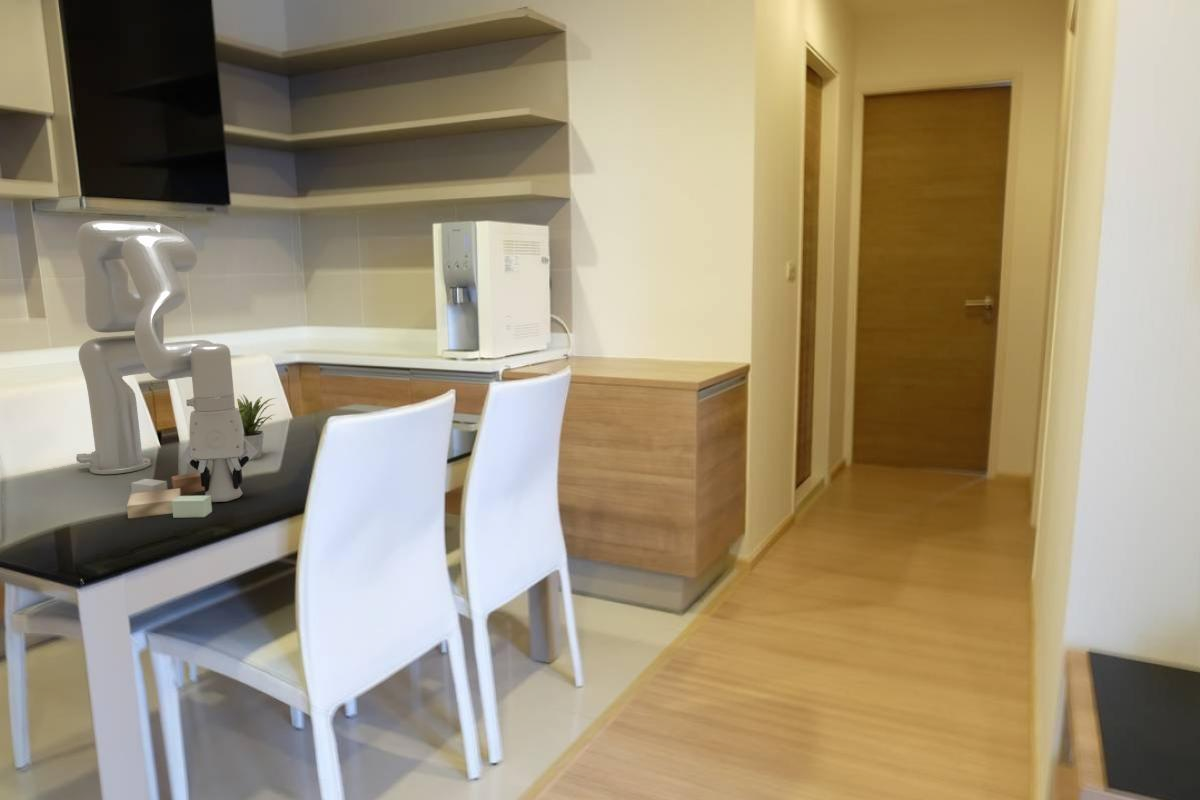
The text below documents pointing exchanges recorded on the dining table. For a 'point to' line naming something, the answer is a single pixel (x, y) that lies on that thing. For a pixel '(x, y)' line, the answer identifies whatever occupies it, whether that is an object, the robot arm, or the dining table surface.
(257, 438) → the house plant
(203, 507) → the sage brick
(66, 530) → the dining table surface
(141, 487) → the grey brick
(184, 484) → the cherry brick
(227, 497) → the flask
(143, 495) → the oak block
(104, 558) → the dining table surface
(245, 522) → the dining table surface
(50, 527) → the dining table surface
